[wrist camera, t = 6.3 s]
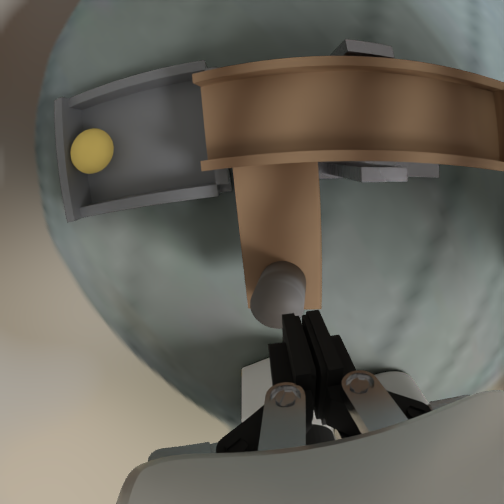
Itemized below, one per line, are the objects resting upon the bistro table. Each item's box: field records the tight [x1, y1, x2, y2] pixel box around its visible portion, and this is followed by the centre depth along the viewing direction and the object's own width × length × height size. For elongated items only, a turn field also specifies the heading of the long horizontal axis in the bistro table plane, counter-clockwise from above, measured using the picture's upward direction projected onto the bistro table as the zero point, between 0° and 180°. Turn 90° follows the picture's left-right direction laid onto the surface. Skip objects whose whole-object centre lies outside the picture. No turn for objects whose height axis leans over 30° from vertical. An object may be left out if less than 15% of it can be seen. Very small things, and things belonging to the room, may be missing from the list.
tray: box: [54, 60, 232, 222], centre depth 18 cm, size 13×10×4 cm
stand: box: [318, 39, 439, 182], centre depth 16 cm, size 12×9×7 cm
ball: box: [71, 128, 114, 174], centre depth 17 cm, size 4×4×4 cm
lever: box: [192, 56, 504, 329], centre depth 14 cm, size 20×16×4 cm
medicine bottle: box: [241, 358, 335, 445], centre depth 21 cm, size 7×7×12 cm
